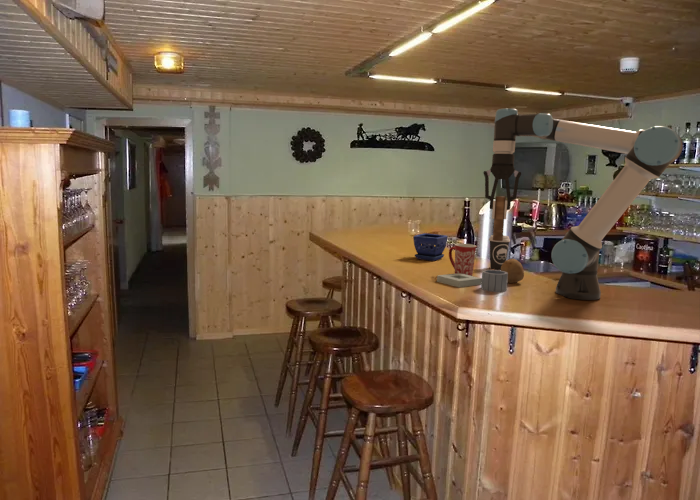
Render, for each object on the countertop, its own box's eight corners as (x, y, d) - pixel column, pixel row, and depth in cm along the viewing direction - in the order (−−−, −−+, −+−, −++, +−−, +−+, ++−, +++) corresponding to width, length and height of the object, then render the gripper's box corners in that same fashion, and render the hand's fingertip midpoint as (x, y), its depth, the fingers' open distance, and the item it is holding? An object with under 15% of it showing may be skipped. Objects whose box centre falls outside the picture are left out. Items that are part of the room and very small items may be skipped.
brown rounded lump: (498, 280, 222) (500, 256, 220) (521, 282, 220) (523, 257, 219) (500, 284, 213) (502, 259, 212) (524, 286, 211) (526, 261, 210)
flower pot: (436, 262, 263) (437, 237, 261) (411, 259, 270) (412, 235, 268) (447, 258, 274) (448, 235, 272) (423, 256, 281) (424, 233, 279)
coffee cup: (510, 268, 251) (513, 236, 249) (504, 271, 243) (507, 238, 241) (490, 265, 257) (492, 234, 254) (484, 268, 249) (486, 236, 246)
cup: (511, 291, 201) (512, 273, 200) (494, 294, 196) (496, 275, 195) (492, 287, 208) (493, 269, 207) (476, 289, 203) (477, 270, 202)
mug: (479, 277, 226) (481, 245, 224) (464, 280, 221) (466, 247, 219) (456, 272, 236) (458, 242, 234) (441, 274, 231) (443, 243, 229)
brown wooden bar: (504, 240, 199) (507, 196, 197) (498, 241, 197) (501, 196, 195) (497, 239, 202) (500, 196, 199) (490, 239, 200) (493, 196, 197)
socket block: (481, 285, 210) (481, 278, 209) (458, 288, 203) (459, 281, 203) (458, 280, 220) (459, 272, 219) (436, 282, 213) (437, 275, 212)
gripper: (527, 154, 196) (522, 219, 200) (480, 153, 201) (476, 216, 204) (528, 153, 189) (523, 220, 192) (479, 152, 193) (475, 218, 197)
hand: (499, 218), depth 198 cm, fingers closed on brown wooden bar, 3 cm apart
